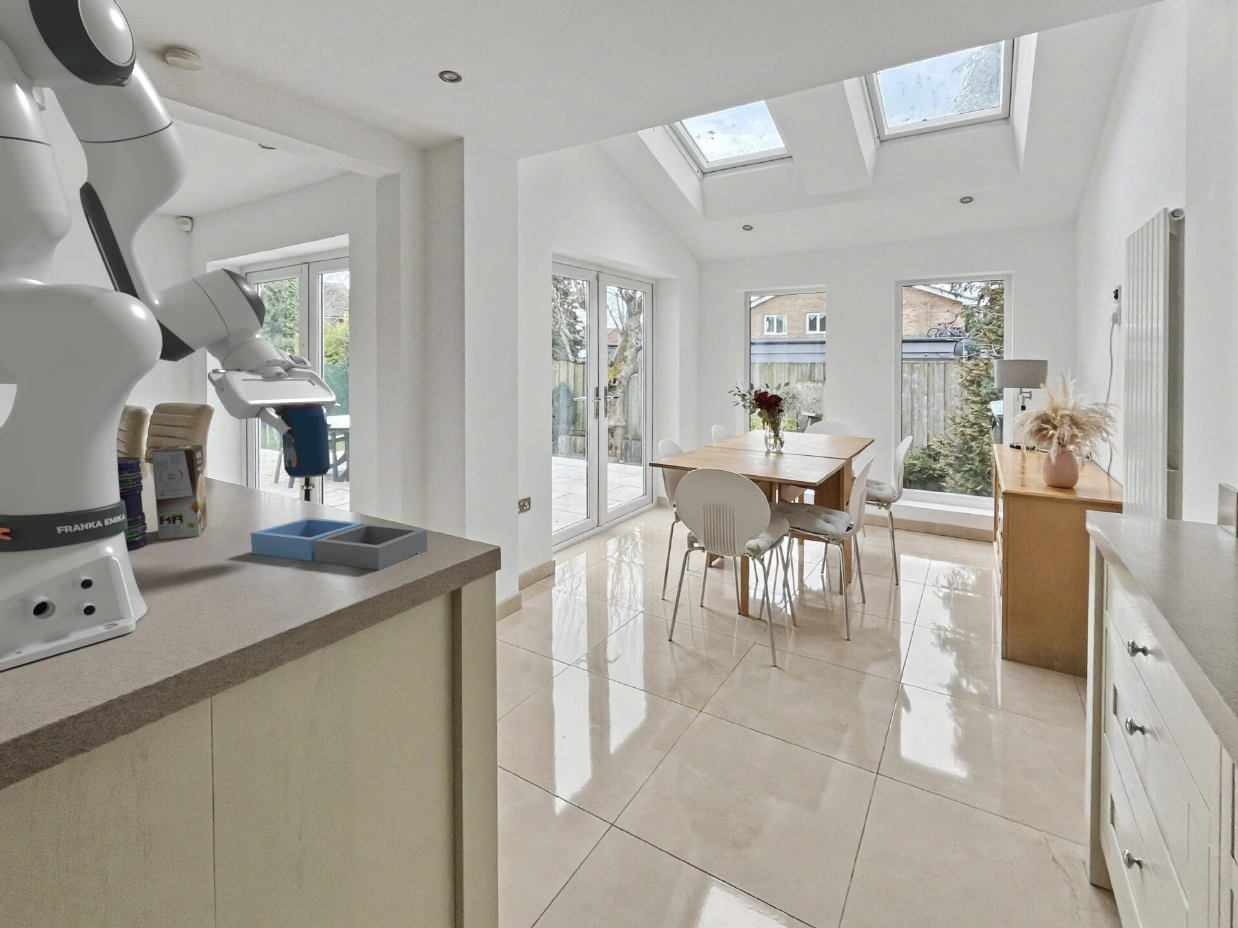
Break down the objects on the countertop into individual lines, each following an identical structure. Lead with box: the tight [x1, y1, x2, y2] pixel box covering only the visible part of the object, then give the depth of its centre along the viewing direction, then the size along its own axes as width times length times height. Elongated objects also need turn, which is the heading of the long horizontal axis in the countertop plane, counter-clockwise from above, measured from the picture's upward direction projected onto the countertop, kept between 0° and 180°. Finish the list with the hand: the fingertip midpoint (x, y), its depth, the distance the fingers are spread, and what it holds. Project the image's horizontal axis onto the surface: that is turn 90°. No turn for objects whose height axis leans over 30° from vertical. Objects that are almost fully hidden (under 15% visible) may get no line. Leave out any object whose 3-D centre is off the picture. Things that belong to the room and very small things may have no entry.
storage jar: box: [117, 456, 148, 553], centre depth 105 cm, size 10×10×15 cm
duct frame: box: [250, 517, 428, 571], centre depth 106 cm, size 12×25×4 cm, turn 72°
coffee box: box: [151, 444, 209, 540], centre depth 116 cm, size 9×6×16 cm
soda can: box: [280, 404, 331, 479], centre depth 106 cm, size 7×7×12 cm
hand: (307, 430), depth 105 cm, fingers closed on soda can, 7 cm apart
